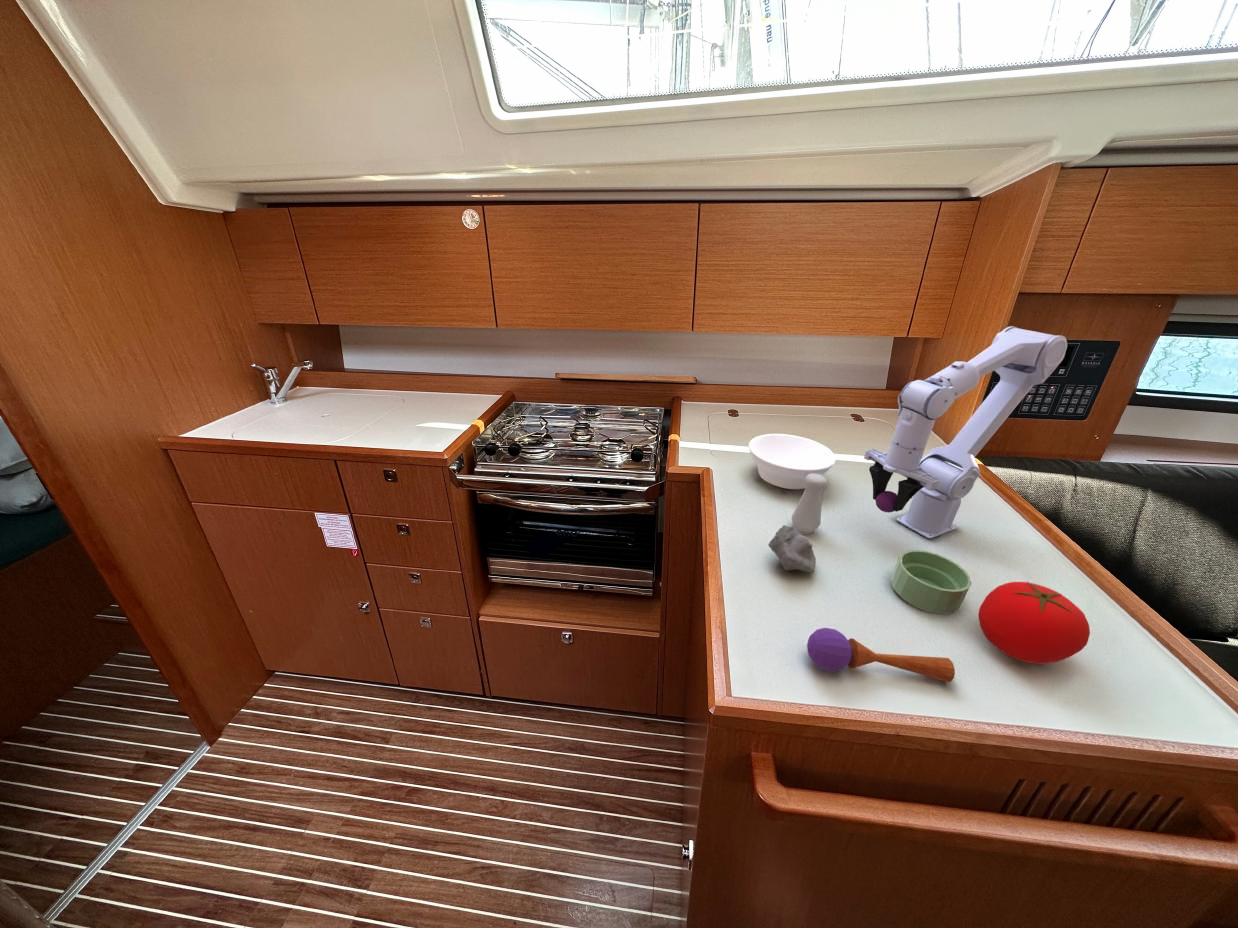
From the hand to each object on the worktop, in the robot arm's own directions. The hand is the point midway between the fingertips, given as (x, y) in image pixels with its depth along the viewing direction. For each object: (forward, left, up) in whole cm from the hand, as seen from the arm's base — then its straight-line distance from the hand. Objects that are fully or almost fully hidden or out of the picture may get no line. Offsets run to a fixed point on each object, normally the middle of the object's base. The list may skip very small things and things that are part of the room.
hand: (887, 503), depth 96 cm
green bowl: (+7, +15, -8) cm, 19 cm away
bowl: (-1, -28, -9) cm, 29 cm away
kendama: (+30, +23, -9) cm, 39 cm away
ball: (0, 0, +1) cm, 1 cm away
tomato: (+5, +29, -9) cm, 31 cm away
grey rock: (+24, -1, -9) cm, 26 cm away
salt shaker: (+12, -9, -9) cm, 17 cm away
